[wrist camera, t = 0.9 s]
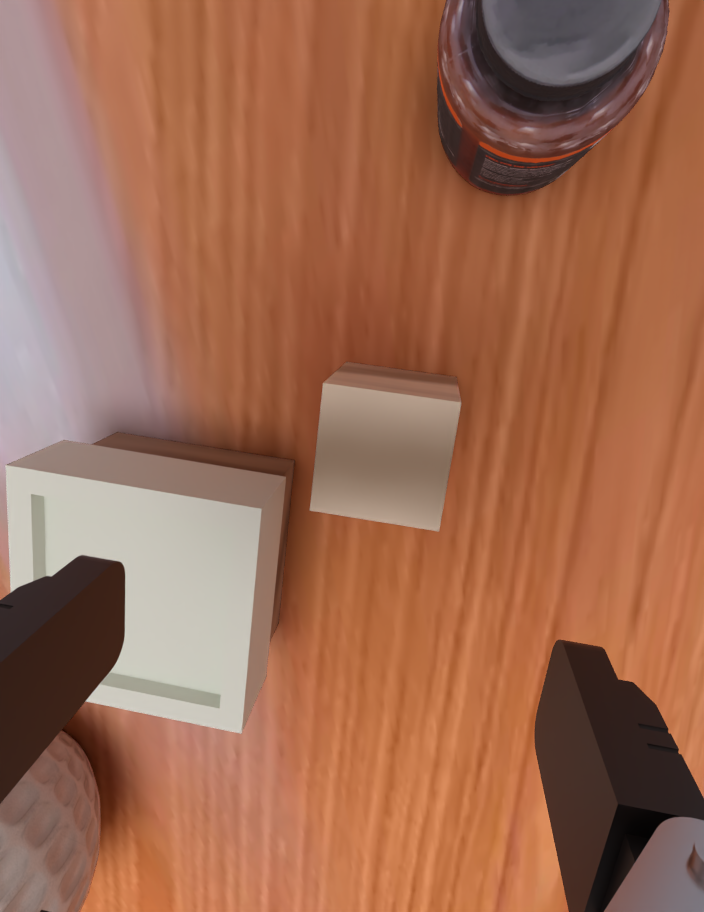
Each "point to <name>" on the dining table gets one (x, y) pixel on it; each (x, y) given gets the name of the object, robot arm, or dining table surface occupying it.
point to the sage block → (161, 569)
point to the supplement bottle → (539, 82)
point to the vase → (50, 832)
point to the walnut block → (227, 460)
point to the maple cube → (385, 445)
